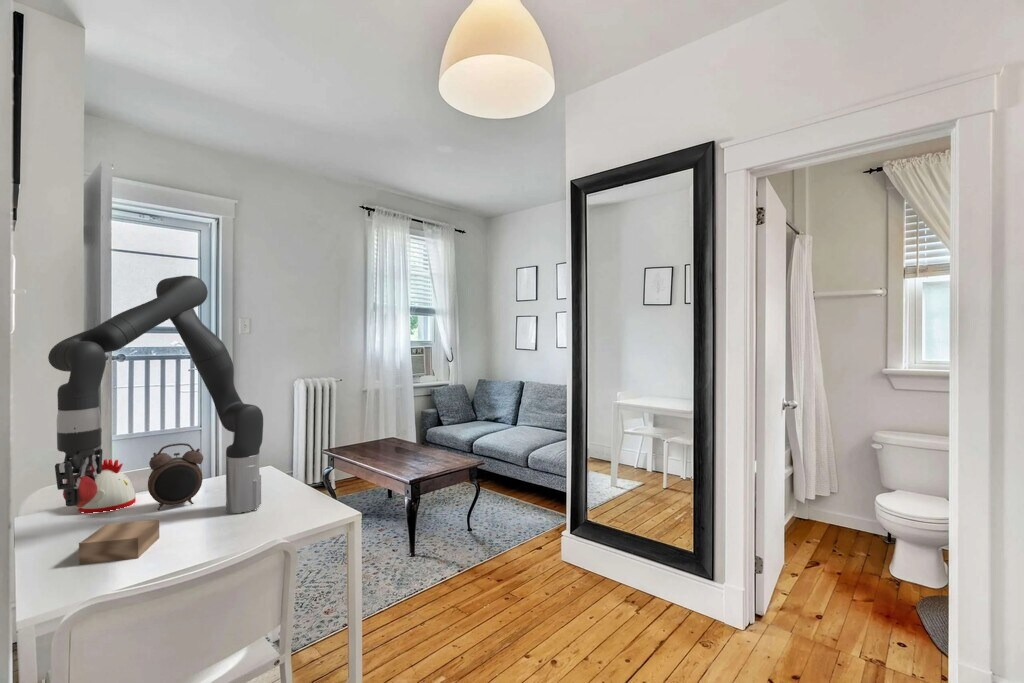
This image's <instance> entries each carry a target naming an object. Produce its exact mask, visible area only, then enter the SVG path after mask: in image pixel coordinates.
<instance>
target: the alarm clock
mask: <svg viewBox="0 0 1024 683" xmlns="http://www.w3.org/2000/svg"><path fill="white" fill-rule="evenodd" d="M176 446H177V447H178V446H184V447H185V446H186V447H188V448H189V449H190V450H188V451H186V452H185V453H184V454H183V455H182V457H180V455H181V454H180V452H175V453H173V456H174V457H172V456H171V455H170V454H168V453H166V452H163V450H164V449H167V448H170V447H176ZM178 456H179V457H178ZM203 461H204V456H203V454H202V452H200V448H197V449H196V450H195V449H194V448H193V446H192V445H191V444H189V443H185V442H184V443H183V442H181V443H180V442H179V443H172V444H167V445H164V446H162V447H161V448H160V449H159V450H158V452H153V454H152V457H150V460H149V463H148V464H149V468H150V469H151V470H152V471H151V472H150V475H149V476H148V480H147V489H148V492H149V495H150V496H151V497H152V498H153V500H155V502H157V503H159V504H158V505H159V506H158V508H157V511H160V510H161V508H162V507H163V506H164V505H165V506H177V505H181V504H183V503H186V502H189V503H190V505H191V504H193V505H194V503H195V502H193V501H192V498H194V497H195V496H196V495H197V493H198V492H199V491H200V489H201V488H202V485H203V472H202V469H201V467H200V466H199V465H201V464H202V463H203Z"/></svg>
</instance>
